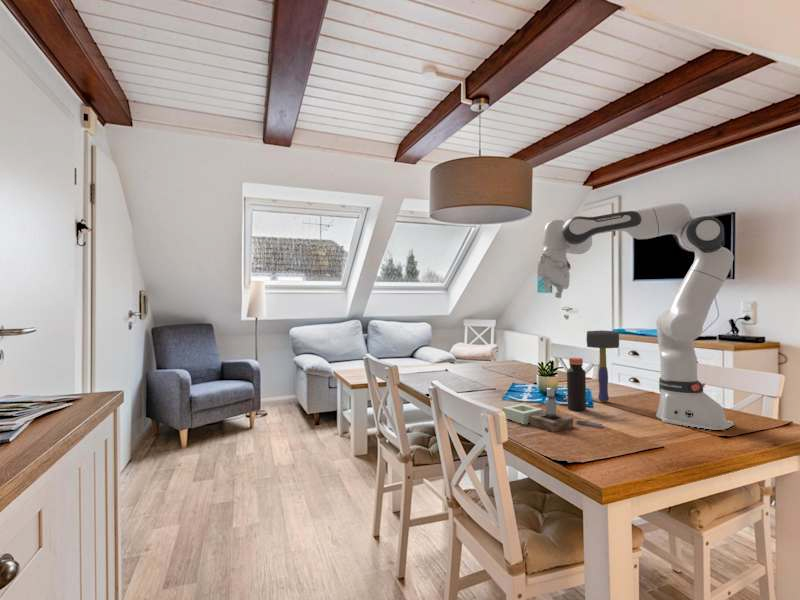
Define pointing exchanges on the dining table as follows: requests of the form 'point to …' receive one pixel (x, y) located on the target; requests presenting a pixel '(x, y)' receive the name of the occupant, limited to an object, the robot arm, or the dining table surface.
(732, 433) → the dining table surface
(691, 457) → the dining table surface
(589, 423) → the drift key
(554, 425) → the socket block
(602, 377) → the rubber mallet
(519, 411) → the rack block
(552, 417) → the drill bit
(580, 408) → the bottle
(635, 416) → the dining table surface
